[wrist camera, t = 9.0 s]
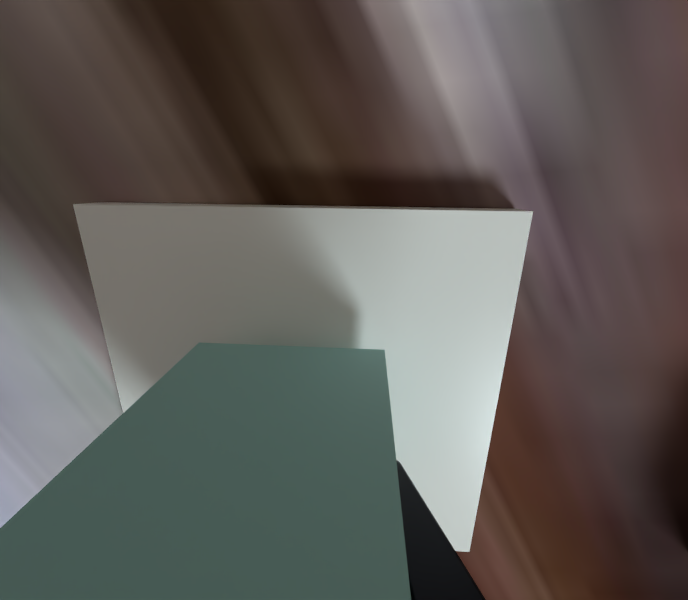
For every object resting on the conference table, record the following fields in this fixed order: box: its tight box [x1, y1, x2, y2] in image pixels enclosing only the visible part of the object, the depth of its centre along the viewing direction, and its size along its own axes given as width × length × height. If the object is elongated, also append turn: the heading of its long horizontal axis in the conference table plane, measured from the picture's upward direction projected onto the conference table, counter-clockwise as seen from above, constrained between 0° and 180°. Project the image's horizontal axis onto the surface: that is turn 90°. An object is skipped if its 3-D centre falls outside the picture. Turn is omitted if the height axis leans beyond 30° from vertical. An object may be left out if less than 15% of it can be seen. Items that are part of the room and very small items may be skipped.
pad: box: [73, 202, 533, 552], centre depth 11 cm, size 12×12×1 cm
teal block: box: [0, 343, 411, 600], centre depth 7 cm, size 5×5×6 cm
